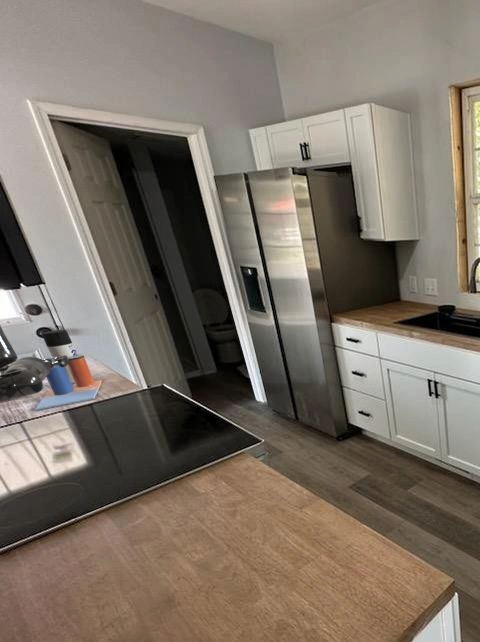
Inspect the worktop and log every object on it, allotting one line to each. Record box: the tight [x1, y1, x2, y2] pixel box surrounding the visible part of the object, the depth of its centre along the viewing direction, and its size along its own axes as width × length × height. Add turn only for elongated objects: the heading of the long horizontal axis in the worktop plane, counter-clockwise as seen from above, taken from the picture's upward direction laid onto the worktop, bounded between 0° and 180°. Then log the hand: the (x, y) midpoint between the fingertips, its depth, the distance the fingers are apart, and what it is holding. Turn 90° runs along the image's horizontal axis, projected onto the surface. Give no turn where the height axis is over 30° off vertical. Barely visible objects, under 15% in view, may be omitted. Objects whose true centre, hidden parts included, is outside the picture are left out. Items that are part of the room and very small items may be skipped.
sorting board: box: [34, 380, 103, 412], centre depth 146 cm, size 14×24×1 cm, turn 39°
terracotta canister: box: [67, 354, 95, 387], centre depth 152 cm, size 5×5×11 cm
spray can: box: [41, 329, 78, 385], centre depth 156 cm, size 7×7×20 cm
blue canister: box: [45, 361, 74, 395], centre depth 145 cm, size 5×5×11 cm
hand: (40, 360), depth 133 cm, fingers open, 8 cm apart
